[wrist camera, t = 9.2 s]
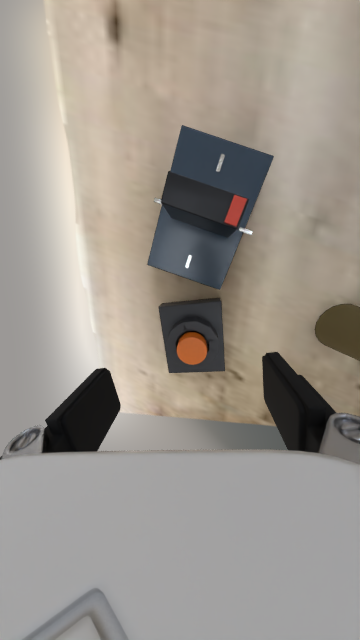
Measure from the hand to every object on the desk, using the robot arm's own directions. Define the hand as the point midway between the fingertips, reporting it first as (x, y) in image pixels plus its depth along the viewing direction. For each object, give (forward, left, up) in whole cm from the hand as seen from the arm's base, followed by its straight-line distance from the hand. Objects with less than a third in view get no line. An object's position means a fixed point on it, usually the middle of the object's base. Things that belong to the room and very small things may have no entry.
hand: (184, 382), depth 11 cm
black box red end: (-11, 0, -12) cm, 17 cm away
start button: (+3, 0, -12) cm, 12 cm away
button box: (+3, 0, -15) cm, 15 cm away
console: (-11, 0, -15) cm, 19 cm away
